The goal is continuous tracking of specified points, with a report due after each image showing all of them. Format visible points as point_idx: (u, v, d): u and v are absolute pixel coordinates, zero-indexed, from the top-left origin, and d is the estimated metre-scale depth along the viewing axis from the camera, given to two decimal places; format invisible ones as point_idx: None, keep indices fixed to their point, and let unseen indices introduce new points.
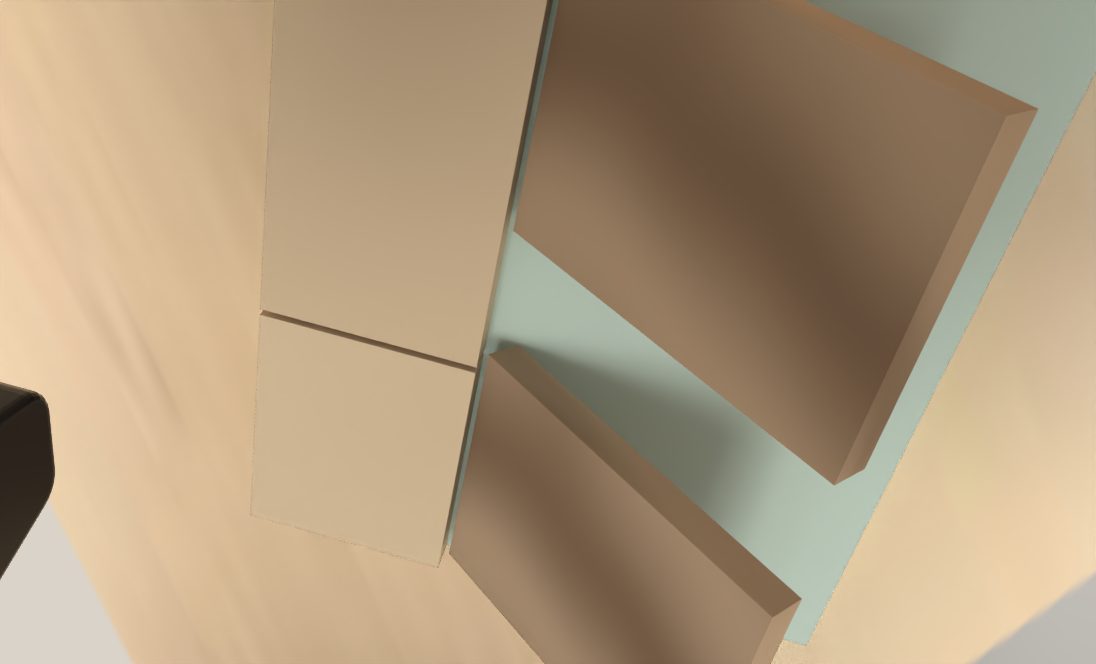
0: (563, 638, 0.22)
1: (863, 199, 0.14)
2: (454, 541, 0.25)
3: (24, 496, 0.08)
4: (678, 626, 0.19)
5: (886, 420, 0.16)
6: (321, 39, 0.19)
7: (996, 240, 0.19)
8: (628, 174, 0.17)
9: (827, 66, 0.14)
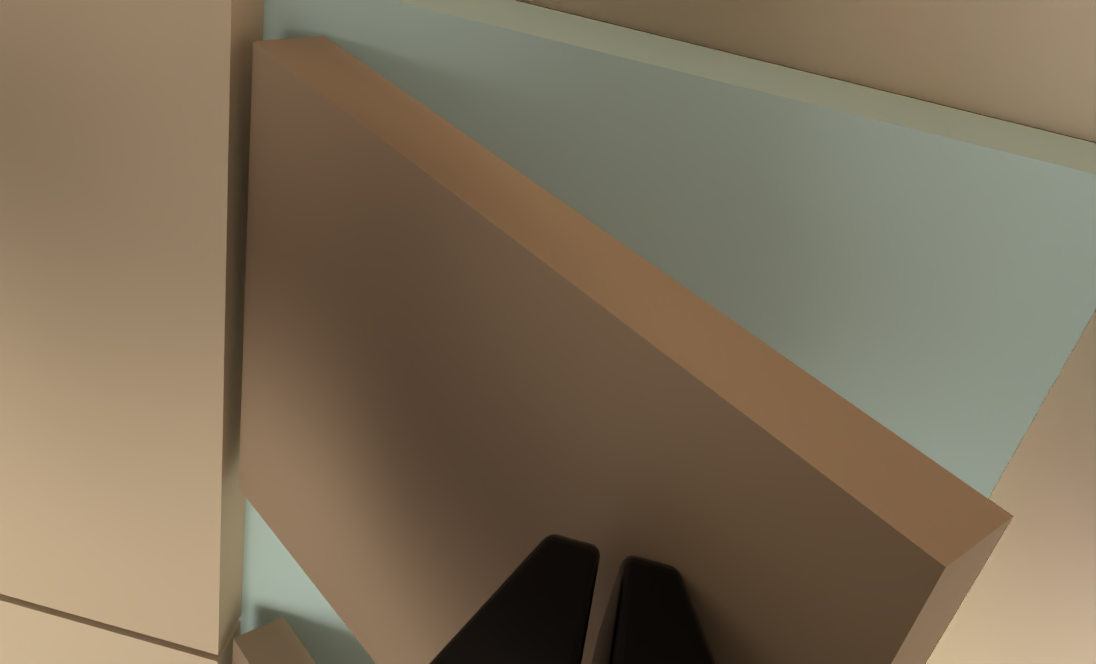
0: None
1: None
2: None
3: None
4: None
5: None
6: None
7: None
8: (358, 458, 0.11)
9: (616, 376, 0.07)
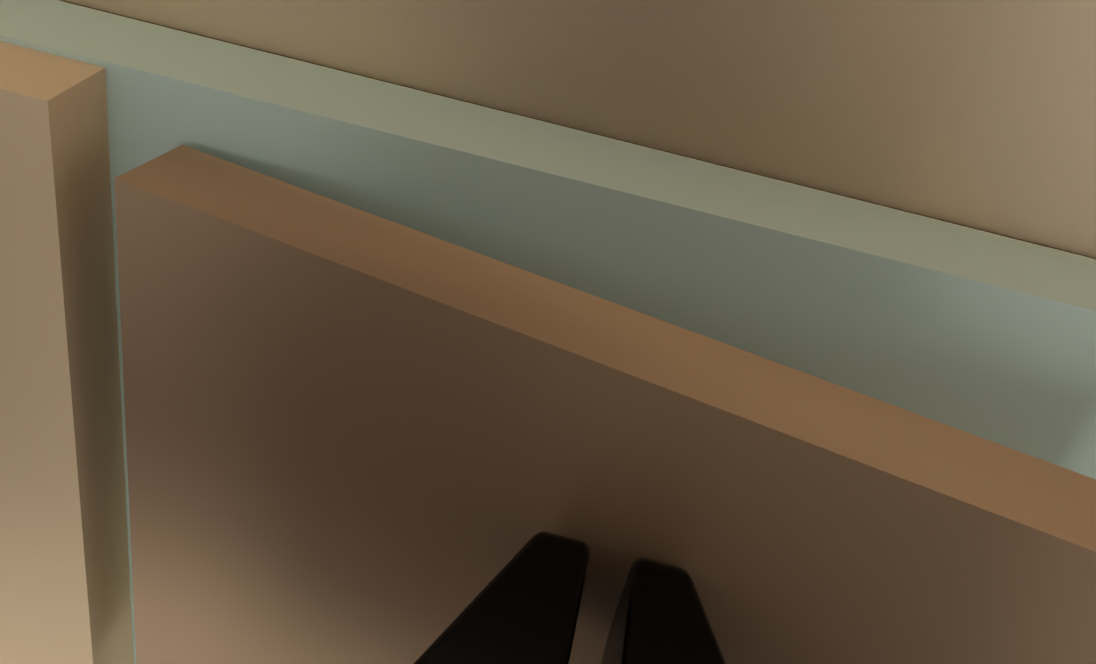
0: None
1: None
2: None
3: None
4: None
5: None
6: None
7: None
8: (364, 624, 0.09)
9: (794, 494, 0.07)
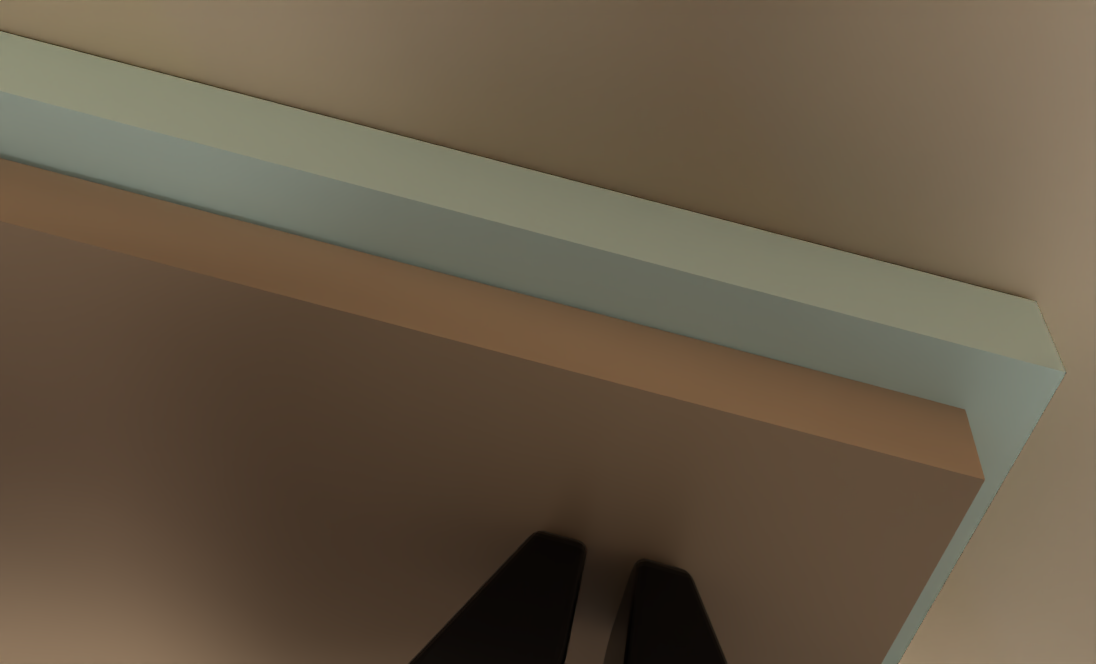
0: None
1: (710, 612, 0.08)
2: None
3: None
4: None
5: None
6: None
7: None
8: (185, 618, 0.09)
9: (593, 429, 0.07)
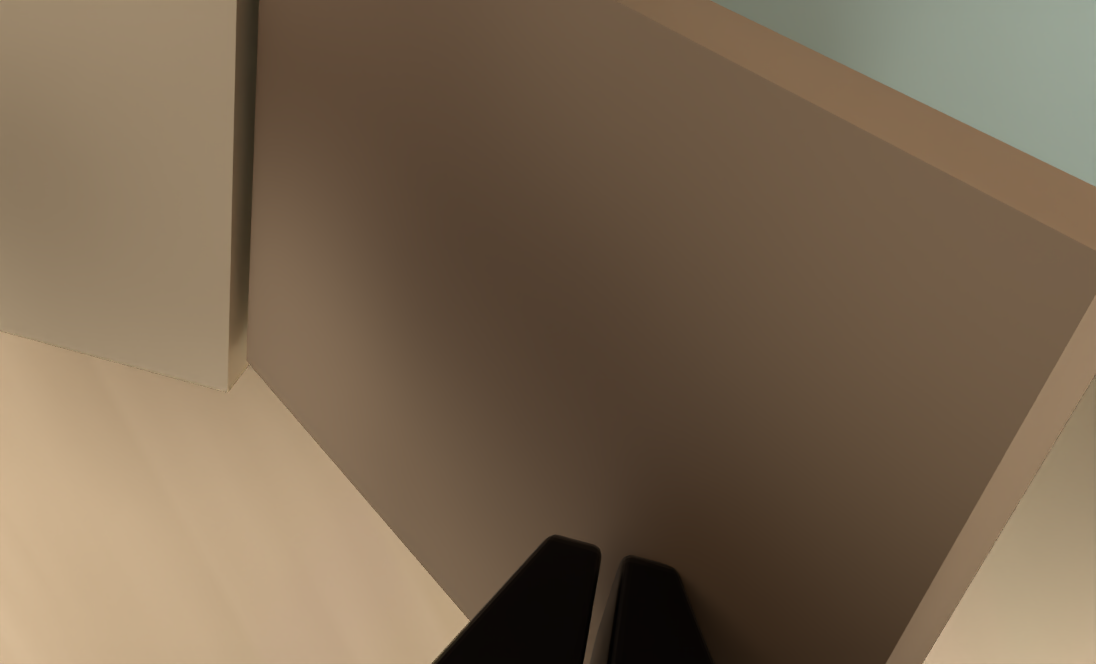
0: (453, 496, 0.10)
1: None
2: (251, 332, 0.12)
3: None
4: (740, 392, 0.07)
5: None
6: None
7: None
8: None
9: None
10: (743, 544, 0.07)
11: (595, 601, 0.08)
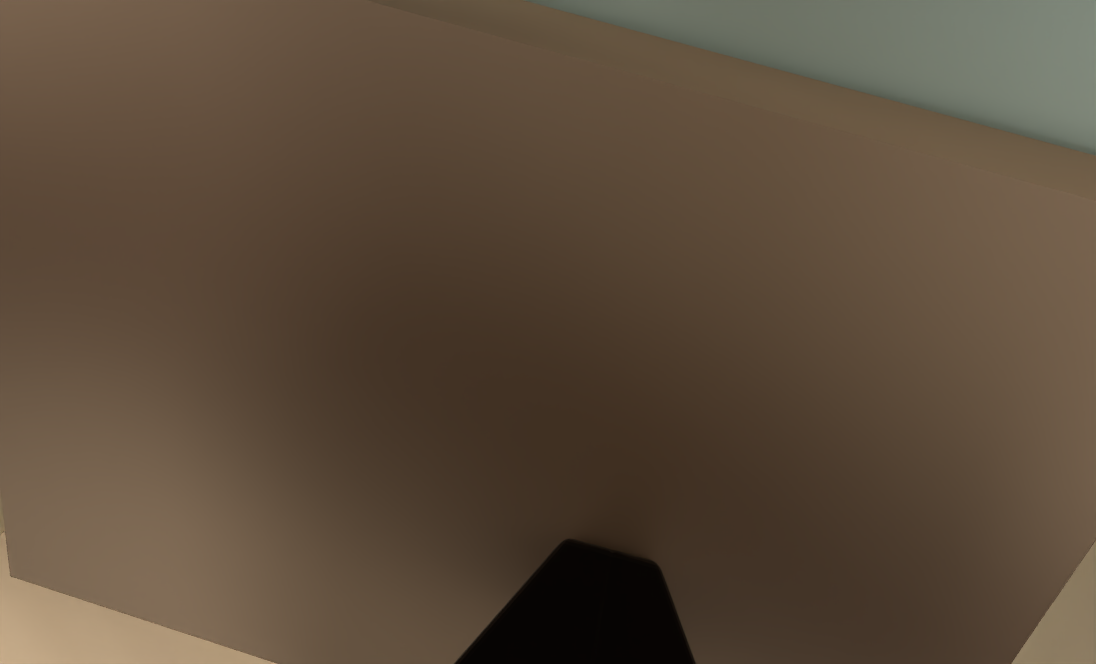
0: (450, 626, 0.09)
1: None
2: (16, 541, 0.09)
3: None
4: (877, 436, 0.07)
5: None
6: None
7: None
8: None
9: None
10: (882, 561, 0.07)
11: None
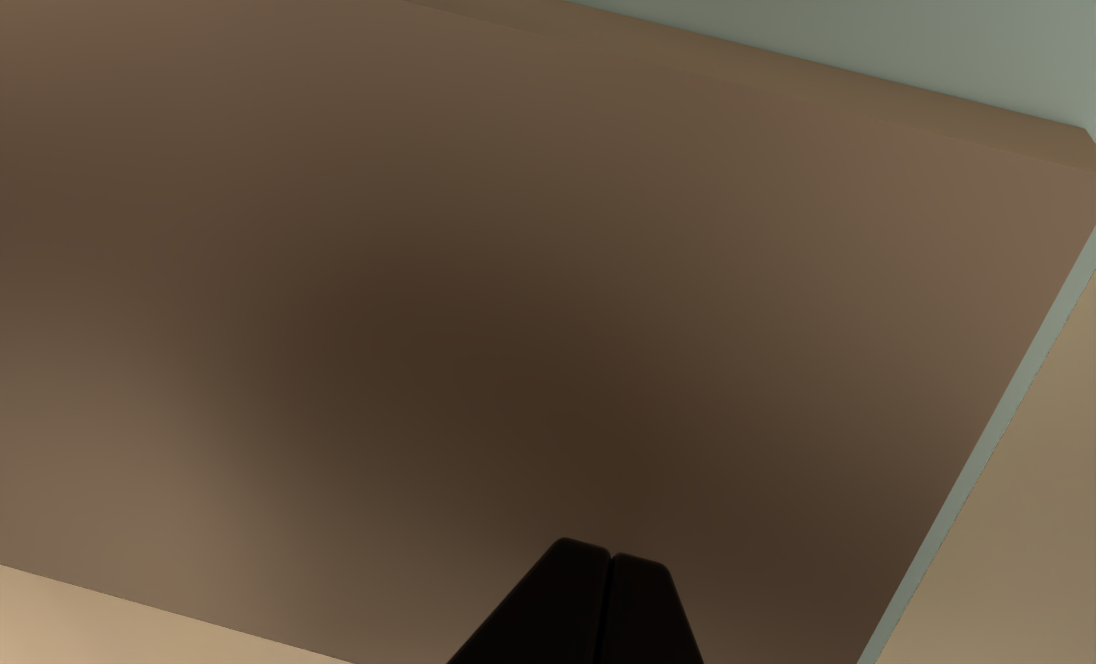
0: (371, 576, 0.09)
1: None
2: None
3: None
4: (758, 370, 0.07)
5: None
6: None
7: None
8: None
9: None
10: (773, 492, 0.08)
11: None
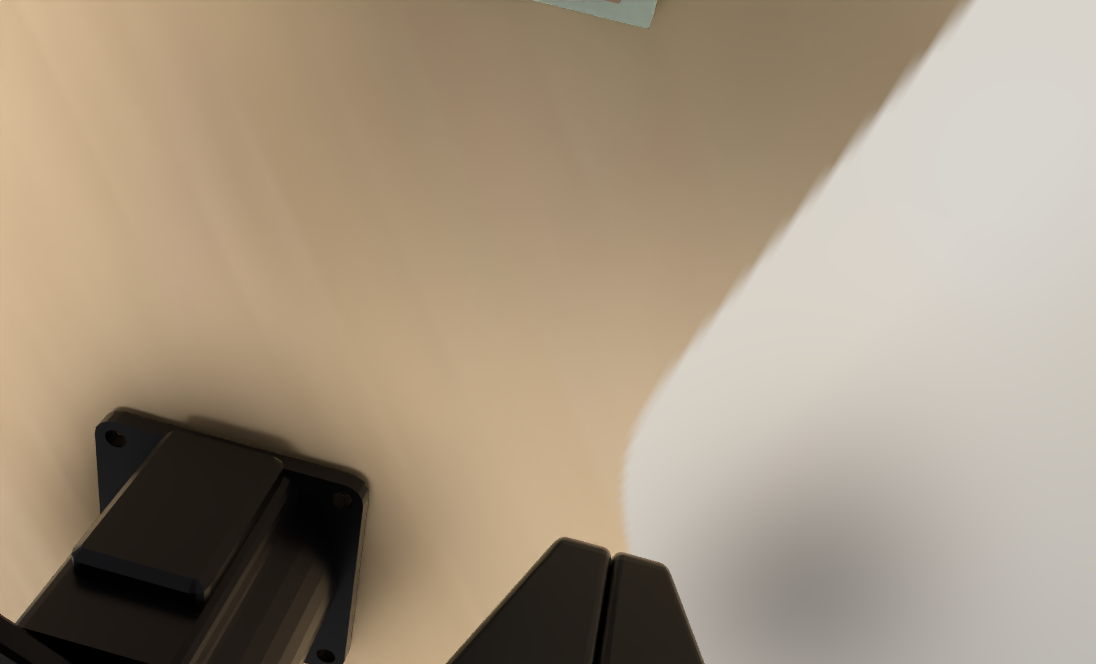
0: None
1: None
2: None
3: None
4: None
5: None
6: None
7: None
8: None
9: None
10: None
11: None
